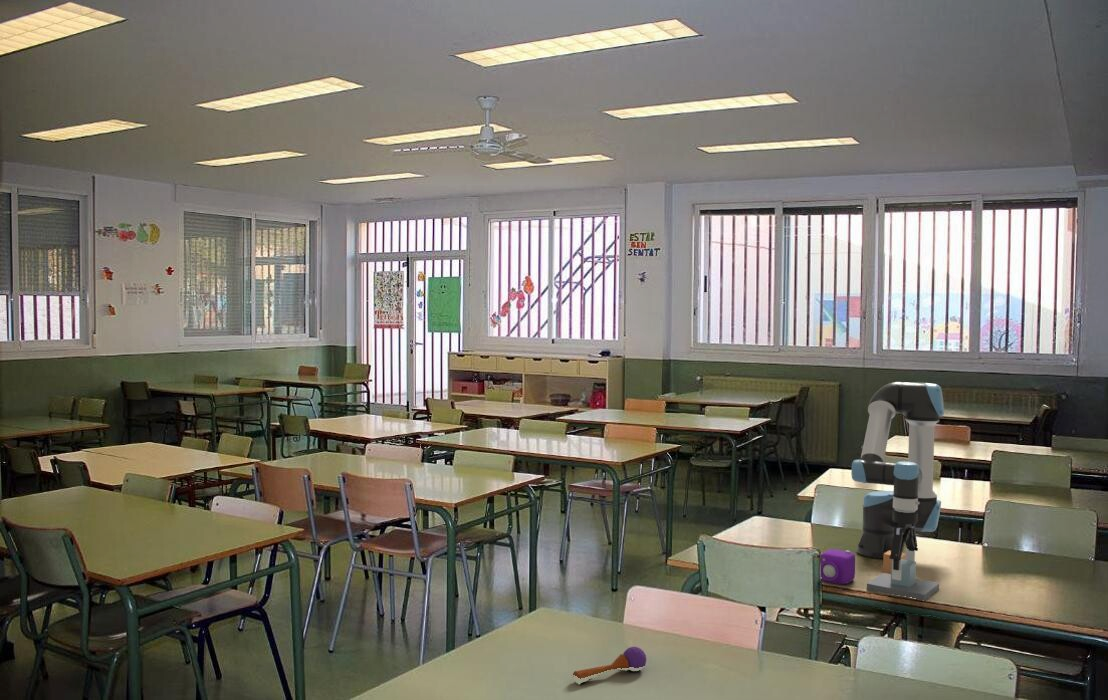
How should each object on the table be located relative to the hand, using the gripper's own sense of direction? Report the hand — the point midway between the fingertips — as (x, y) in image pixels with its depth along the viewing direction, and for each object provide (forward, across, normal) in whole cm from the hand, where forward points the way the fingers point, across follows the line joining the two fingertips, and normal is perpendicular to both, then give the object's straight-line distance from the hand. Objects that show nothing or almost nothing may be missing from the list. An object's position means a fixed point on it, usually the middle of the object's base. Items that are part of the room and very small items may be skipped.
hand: (903, 574), depth 291 cm
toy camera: (+5, -6, +20) cm, 21 cm away
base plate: (+5, 0, 0) cm, 5 cm away
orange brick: (+5, +17, +8) cm, 19 cm away
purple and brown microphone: (+5, -119, +33) cm, 124 cm away
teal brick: (+3, 0, 0) cm, 3 cm away
